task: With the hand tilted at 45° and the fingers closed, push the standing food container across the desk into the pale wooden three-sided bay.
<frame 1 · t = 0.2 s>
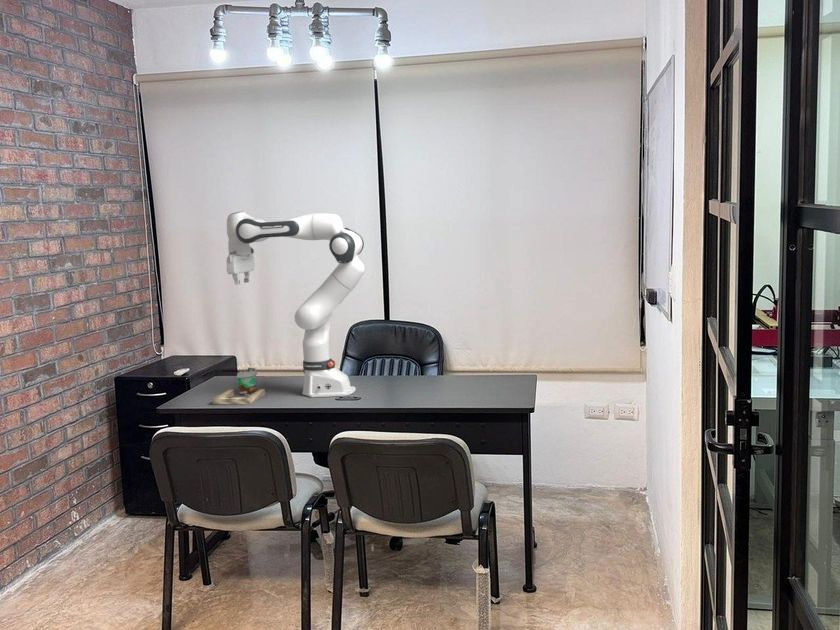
hand: (242, 283, 346), 48 cm above the table, tool pointing down, fingers open, 8 cm apart
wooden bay: (239, 399, 341), on the table
food container: (251, 393, 353), on the table
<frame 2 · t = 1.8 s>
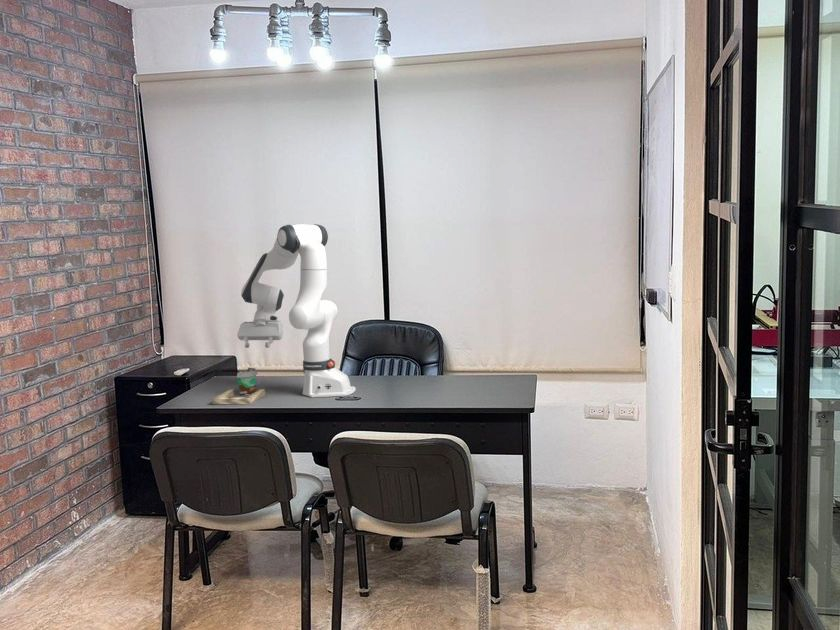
hand: (256, 347, 361), 18 cm above the table, tool tilted 45°, fingers open, 8 cm apart
nothing on the table moved.
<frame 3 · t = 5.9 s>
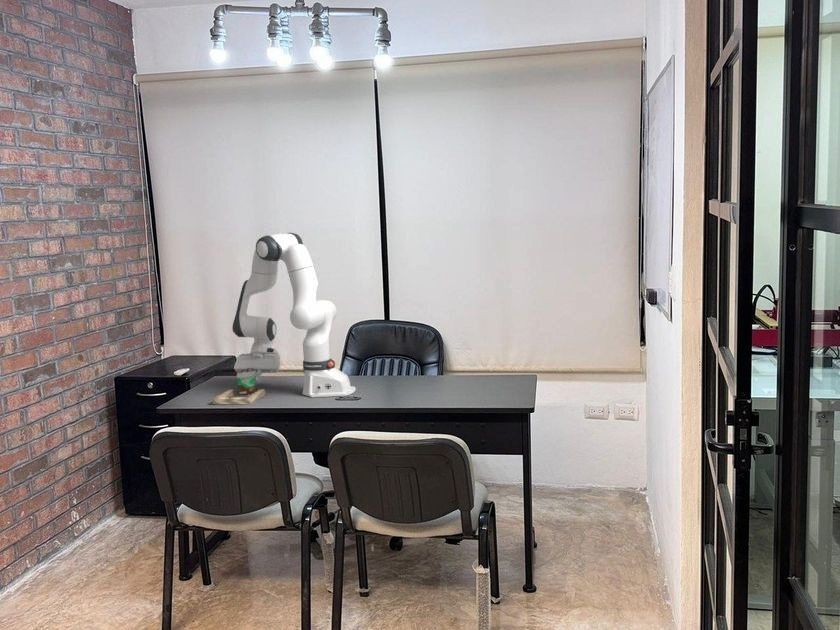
hand: (253, 380, 356), 5 cm above the table, tool tilted 45°, fingers closed
food container: (250, 393, 352), on the table, touching gripper
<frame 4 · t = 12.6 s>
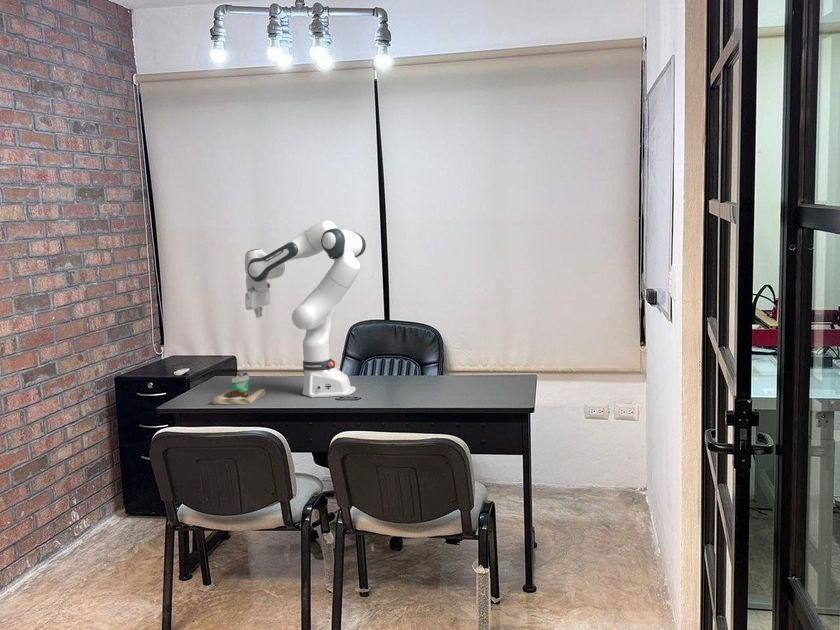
hand: (259, 317, 361), 31 cm above the table, tool pointing down, fingers closed
food container: (243, 398, 344), on the table
at the end: food container 2.4 cm off-centre on the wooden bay, point 0.0 cm above the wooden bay's base; food container tilted 0°; food container moved 8.9 cm from its start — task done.
